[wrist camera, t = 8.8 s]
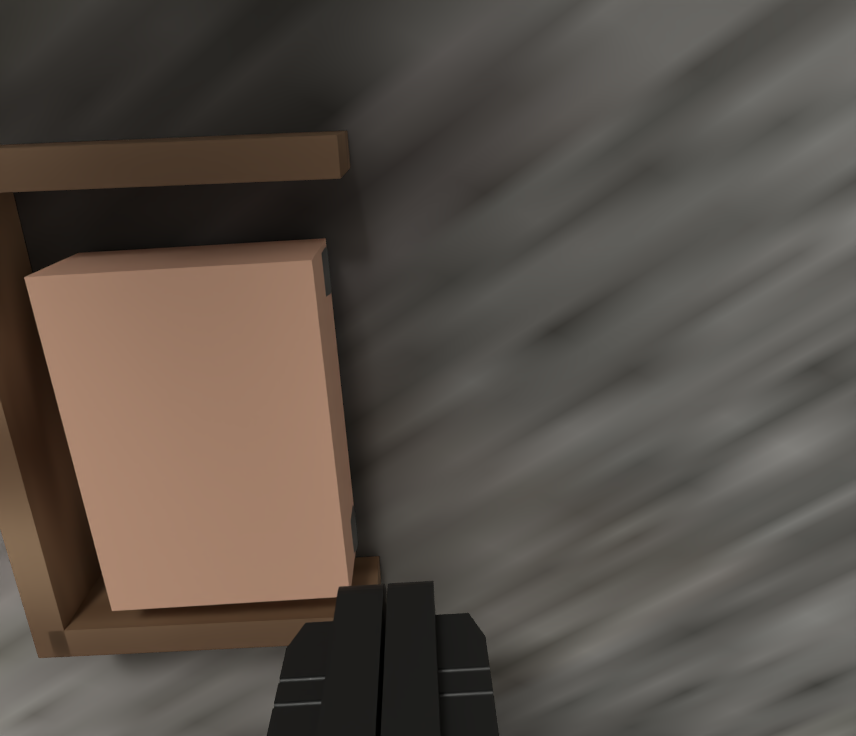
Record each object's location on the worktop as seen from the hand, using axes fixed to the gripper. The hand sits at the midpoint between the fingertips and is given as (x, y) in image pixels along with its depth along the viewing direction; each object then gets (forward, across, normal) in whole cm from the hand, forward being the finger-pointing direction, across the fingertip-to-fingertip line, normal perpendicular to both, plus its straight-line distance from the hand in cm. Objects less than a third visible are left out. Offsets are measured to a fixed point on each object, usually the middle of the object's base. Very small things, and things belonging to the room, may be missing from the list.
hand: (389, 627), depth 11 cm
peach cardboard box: (+11, +5, +1) cm, 13 cm away
